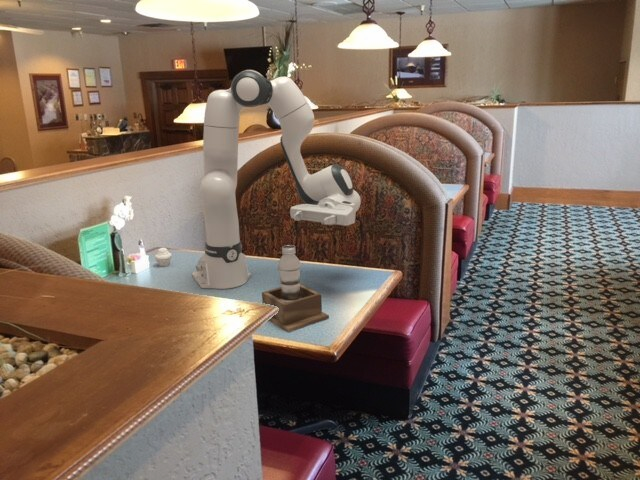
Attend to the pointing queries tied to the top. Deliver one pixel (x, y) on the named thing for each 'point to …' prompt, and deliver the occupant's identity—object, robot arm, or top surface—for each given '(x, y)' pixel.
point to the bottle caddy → (295, 309)
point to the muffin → (163, 257)
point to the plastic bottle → (289, 274)
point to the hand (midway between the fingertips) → (309, 219)
